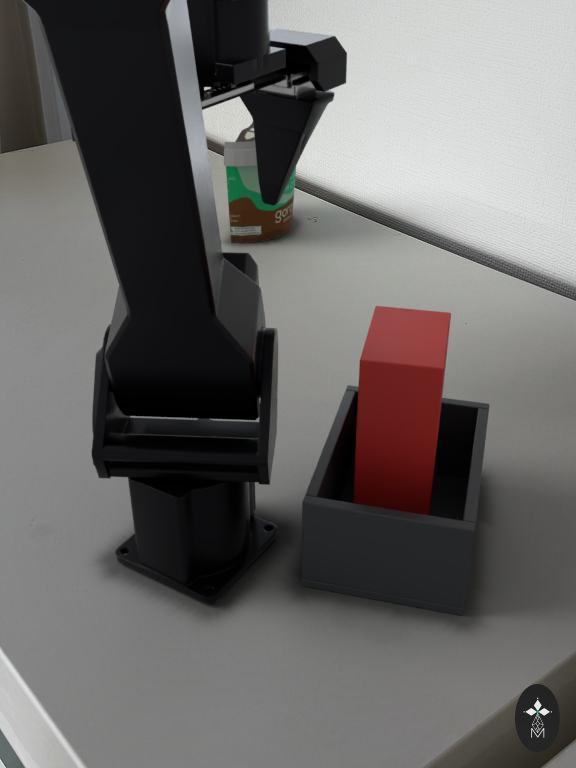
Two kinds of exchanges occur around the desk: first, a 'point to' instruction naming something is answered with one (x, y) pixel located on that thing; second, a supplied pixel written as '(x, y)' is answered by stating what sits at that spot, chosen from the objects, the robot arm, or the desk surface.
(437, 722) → the desk surface
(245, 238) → the food container
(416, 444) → the block
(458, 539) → the bin
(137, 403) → the robot arm
